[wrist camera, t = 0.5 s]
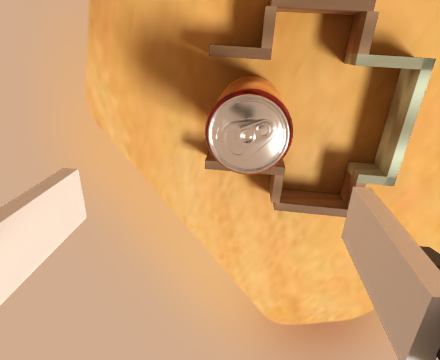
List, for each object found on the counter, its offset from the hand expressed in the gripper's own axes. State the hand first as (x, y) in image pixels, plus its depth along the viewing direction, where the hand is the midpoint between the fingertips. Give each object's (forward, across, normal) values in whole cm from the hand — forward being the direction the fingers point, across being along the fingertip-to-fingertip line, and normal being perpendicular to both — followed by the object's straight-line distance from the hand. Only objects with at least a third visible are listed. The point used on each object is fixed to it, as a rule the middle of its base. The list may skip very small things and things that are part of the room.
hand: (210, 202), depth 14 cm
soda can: (+23, +2, 0) cm, 23 cm away
